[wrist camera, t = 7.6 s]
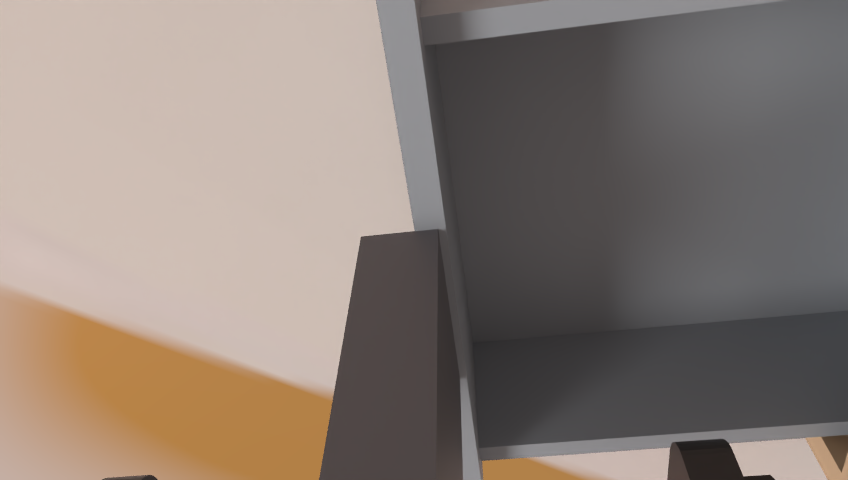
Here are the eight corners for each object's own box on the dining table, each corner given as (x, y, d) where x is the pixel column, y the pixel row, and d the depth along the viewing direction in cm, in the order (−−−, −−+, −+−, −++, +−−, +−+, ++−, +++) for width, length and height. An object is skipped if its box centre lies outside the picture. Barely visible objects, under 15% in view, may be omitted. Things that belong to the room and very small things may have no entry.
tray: (1010, -165, 14) (2118, -35, 5) (870, 327, 22) (1207, 765, 12) (346, -71, 16) (198, 180, 6) (425, 364, 23) (413, 787, 13)
